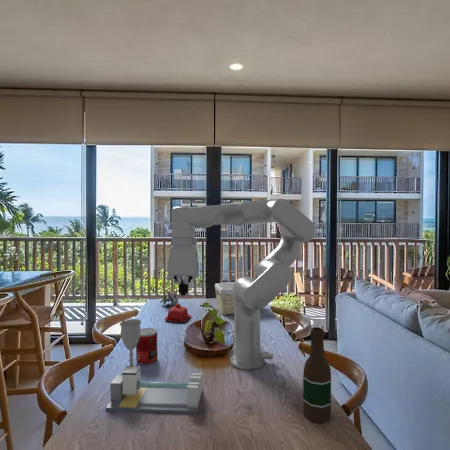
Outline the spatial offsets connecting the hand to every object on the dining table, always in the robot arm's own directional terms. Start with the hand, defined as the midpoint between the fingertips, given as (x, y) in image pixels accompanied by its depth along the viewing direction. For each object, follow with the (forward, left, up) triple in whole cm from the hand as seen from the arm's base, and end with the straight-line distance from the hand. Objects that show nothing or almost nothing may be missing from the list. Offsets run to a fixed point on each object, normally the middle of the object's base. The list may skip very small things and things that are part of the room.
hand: (183, 294), depth 115 cm
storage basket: (-17, -72, -27) cm, 79 cm away
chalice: (+18, +3, -27) cm, 33 cm away
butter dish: (+14, -55, -28) cm, 63 cm away
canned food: (+16, -8, -27) cm, 33 cm away
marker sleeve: (+13, +18, -25) cm, 33 cm away
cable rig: (+5, +18, -27) cm, 33 cm away
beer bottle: (-41, +23, -27) cm, 54 cm away
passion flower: (+24, -78, -27) cm, 87 cm away
